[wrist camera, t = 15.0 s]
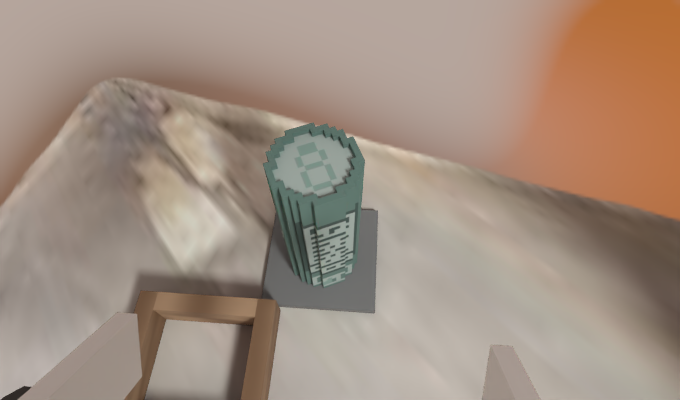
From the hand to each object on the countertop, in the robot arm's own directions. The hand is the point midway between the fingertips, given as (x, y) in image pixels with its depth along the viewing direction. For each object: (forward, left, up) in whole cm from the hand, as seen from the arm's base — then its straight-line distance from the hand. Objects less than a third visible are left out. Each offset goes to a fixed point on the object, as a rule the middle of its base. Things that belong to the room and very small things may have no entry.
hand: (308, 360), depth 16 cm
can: (+1, -13, -21) cm, 24 cm away
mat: (+1, -13, -21) cm, 25 cm away
